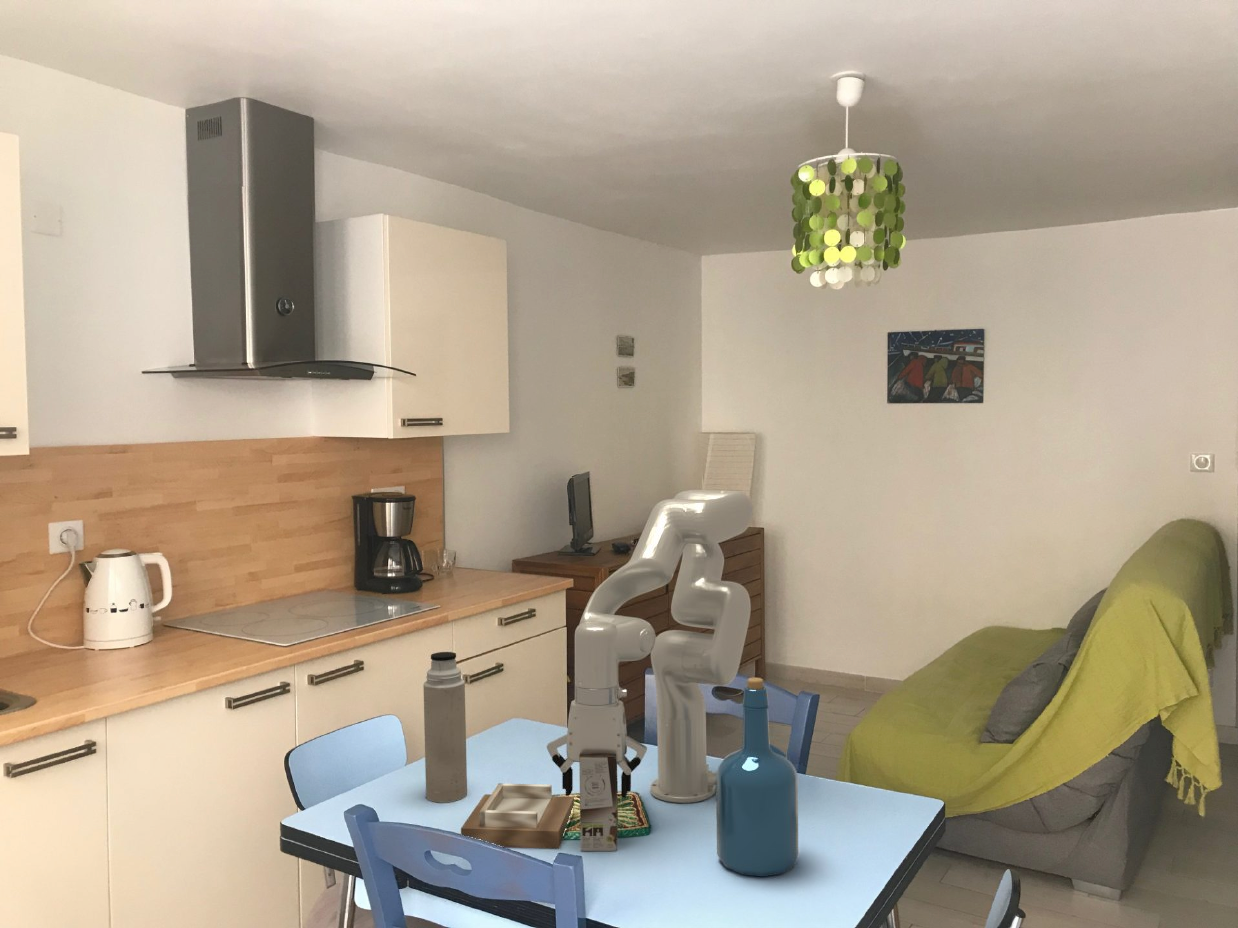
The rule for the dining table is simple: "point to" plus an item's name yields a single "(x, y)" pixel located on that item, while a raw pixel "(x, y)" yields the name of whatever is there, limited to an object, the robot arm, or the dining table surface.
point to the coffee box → (598, 802)
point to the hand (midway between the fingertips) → (596, 794)
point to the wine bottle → (757, 797)
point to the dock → (520, 817)
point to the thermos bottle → (445, 730)
